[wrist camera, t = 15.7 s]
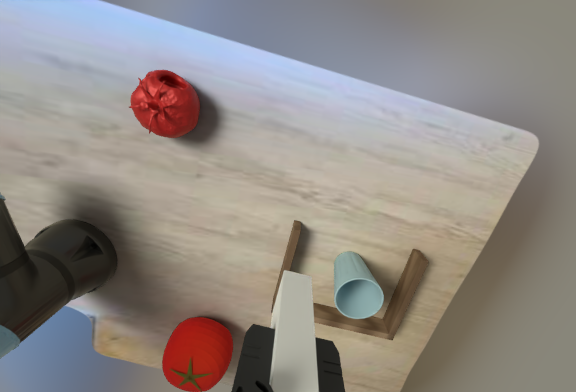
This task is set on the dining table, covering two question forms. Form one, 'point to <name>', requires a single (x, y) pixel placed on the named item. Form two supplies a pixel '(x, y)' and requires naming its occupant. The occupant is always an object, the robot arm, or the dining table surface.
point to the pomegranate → (166, 104)
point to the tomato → (197, 354)
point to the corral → (370, 324)
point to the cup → (355, 287)
